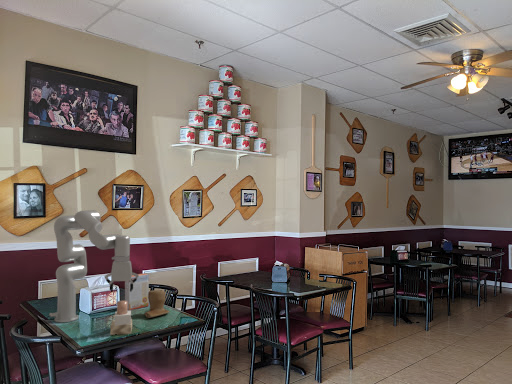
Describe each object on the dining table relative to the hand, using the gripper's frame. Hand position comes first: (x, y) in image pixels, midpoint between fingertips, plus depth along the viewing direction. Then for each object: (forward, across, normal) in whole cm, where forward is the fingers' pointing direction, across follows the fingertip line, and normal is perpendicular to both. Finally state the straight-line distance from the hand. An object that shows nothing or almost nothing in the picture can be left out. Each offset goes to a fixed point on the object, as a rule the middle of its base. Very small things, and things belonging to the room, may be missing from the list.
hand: (121, 291), depth 216 cm
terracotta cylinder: (+11, +1, -1) cm, 11 cm away
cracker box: (+22, +6, +46) cm, 51 cm away
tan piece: (+21, +18, +26) cm, 38 cm away
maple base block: (+21, 0, 0) cm, 21 cm away
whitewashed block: (+16, +1, -1) cm, 16 cm away
